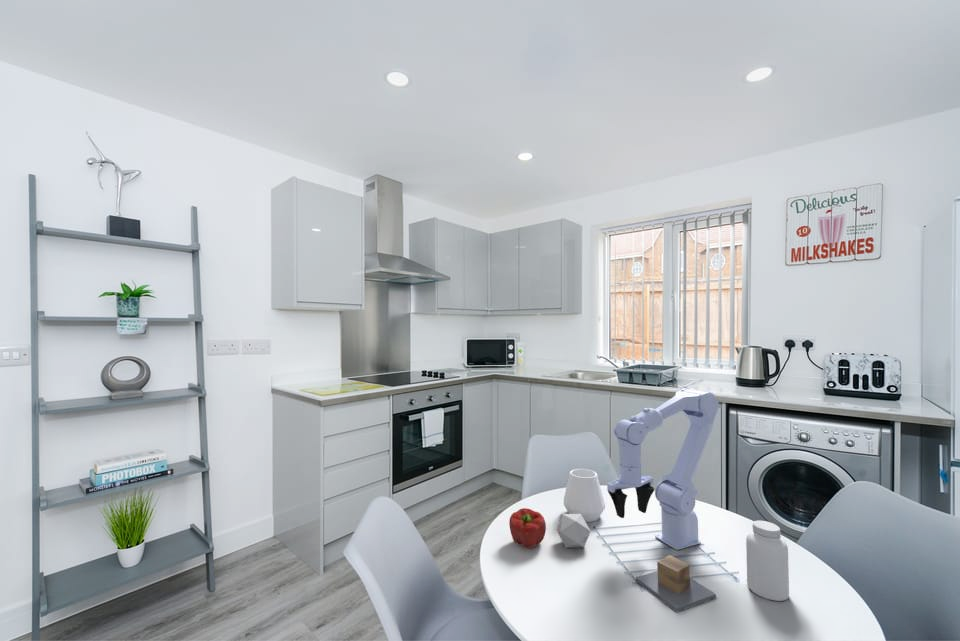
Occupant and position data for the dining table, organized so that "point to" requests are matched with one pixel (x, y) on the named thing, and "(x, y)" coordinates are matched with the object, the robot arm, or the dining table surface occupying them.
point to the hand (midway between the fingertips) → (631, 514)
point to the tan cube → (673, 574)
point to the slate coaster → (675, 601)
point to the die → (573, 530)
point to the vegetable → (527, 527)
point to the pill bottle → (767, 562)
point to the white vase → (584, 495)
